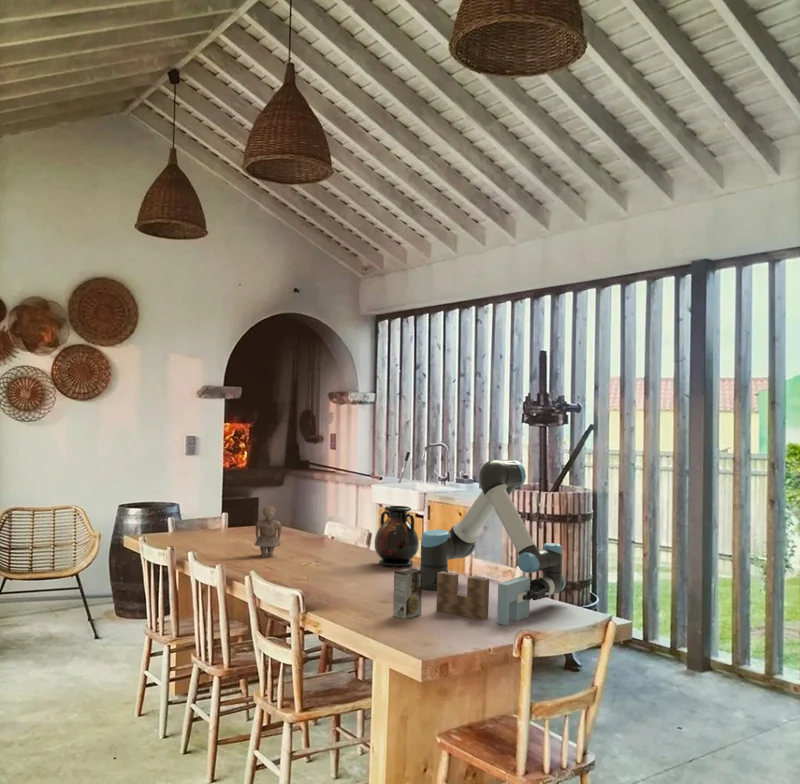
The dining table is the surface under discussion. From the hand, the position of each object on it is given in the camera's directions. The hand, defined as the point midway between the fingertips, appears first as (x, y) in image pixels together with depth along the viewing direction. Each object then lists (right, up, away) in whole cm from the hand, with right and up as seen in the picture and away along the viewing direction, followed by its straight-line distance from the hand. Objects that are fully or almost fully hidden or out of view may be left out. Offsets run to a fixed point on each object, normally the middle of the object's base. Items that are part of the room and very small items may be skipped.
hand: (512, 597), depth 284 cm
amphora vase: (-42, -10, +99) cm, 108 cm away
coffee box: (-38, -7, +2) cm, 38 cm away
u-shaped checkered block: (-18, -8, +6) cm, 20 cm away
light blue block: (+1, -8, +1) cm, 8 cm away
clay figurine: (-107, -8, +112) cm, 155 cm away
